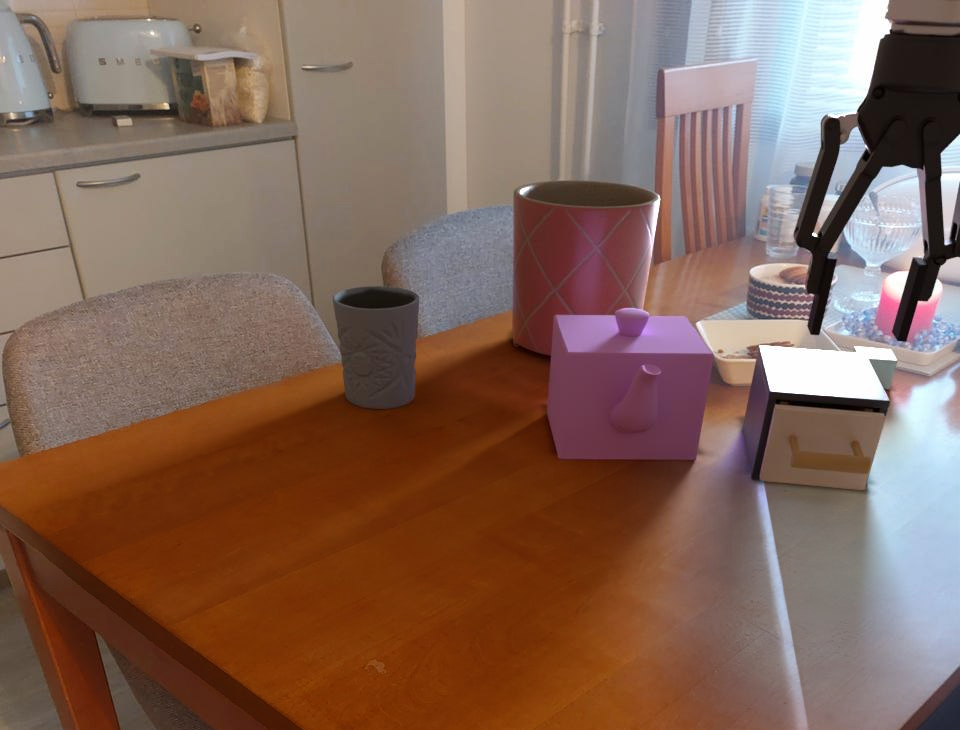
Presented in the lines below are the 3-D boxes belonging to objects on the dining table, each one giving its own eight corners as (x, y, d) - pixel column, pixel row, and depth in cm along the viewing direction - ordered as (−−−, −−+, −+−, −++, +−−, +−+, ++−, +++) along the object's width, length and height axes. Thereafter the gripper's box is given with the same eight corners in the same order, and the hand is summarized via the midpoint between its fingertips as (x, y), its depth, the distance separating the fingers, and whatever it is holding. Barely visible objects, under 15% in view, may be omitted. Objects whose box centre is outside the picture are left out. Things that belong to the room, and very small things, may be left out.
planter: (480, 345, 131) (483, 191, 119) (561, 317, 143) (571, 175, 131) (589, 379, 121) (604, 214, 109) (666, 345, 133) (688, 194, 121)
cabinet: (864, 489, 96) (890, 401, 91) (751, 479, 98) (769, 391, 92) (843, 434, 108) (865, 353, 102) (742, 426, 109) (758, 345, 104)
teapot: (566, 488, 95) (577, 353, 87) (543, 398, 115) (551, 281, 107) (711, 489, 95) (736, 354, 87) (663, 399, 116) (680, 283, 107)
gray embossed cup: (353, 415, 109) (347, 312, 102) (328, 386, 117) (321, 288, 110) (433, 404, 113) (432, 303, 106) (404, 377, 120) (401, 281, 113)
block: (881, 383, 122) (891, 349, 120) (887, 396, 119) (897, 360, 116) (845, 380, 123) (854, 346, 120) (850, 393, 119) (860, 357, 116)
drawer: (874, 517, 89) (897, 441, 85) (764, 506, 91) (781, 431, 86) (844, 438, 105) (863, 370, 100) (751, 430, 106) (765, 363, 102)
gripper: (806, 27, 69) (747, 338, 82) (1090, 37, 66) (981, 355, 79) (796, 24, 75) (742, 313, 88) (1055, 32, 72) (959, 329, 85)
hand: (855, 333), depth 84 cm, fingers open, 7 cm apart
